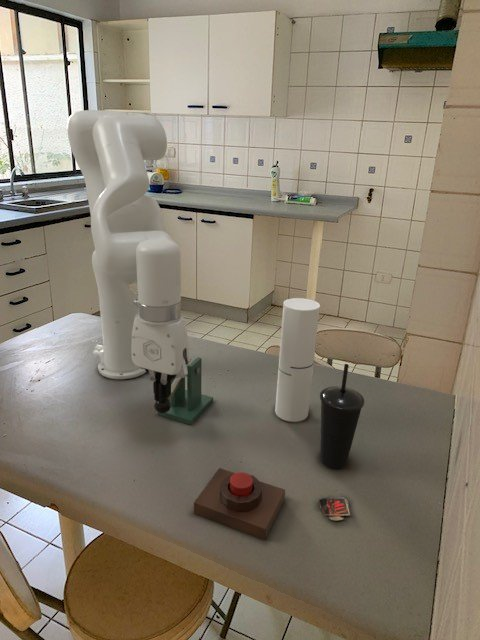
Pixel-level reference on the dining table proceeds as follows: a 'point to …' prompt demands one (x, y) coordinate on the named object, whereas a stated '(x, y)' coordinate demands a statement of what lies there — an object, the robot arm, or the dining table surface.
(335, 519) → the matchbox
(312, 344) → the cylindrical container
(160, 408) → the switch lever
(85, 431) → the dining table surface
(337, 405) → the drinking cup
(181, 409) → the switch bracket
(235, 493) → the button
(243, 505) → the switch block
